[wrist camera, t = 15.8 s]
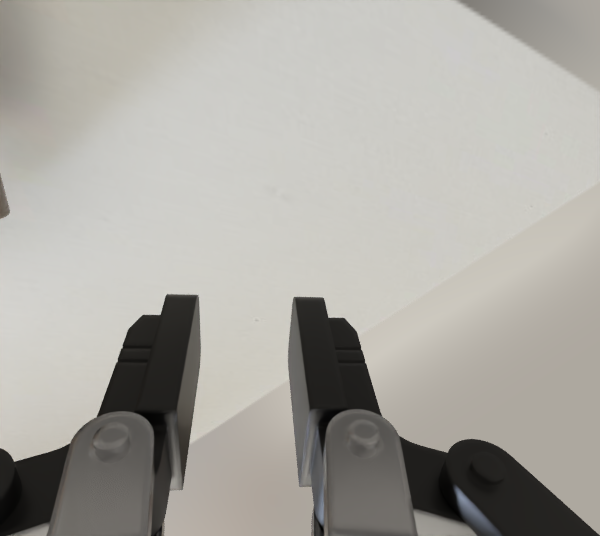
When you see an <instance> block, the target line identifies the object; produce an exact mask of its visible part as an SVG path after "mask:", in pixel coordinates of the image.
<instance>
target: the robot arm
mask: <svg viewBox="0 0 600 536" xmlns="http://www.w3.org/2000/svg"><path fill="white" fill-rule="evenodd" d="M200 353H201V342H200V314H199V297H198V295H173V294H167V295H166V298H165V301H164V305H163V308H162V312H161V315H142V316H141V317H140V318H139V319H138V320H137V321H136V322H135V323H134V324H133V325H132V326H131V327H130V328H129V329H128V332H127V335H126V338H125V341H124V343H123V349H121V352H120V354H119V357H118V363H116V366H115V368H114V371H113V374H112V377H111V379H110V382H109V385H108V388H107V391H106V393H105V396H104V399H103V402H102V405H101V407H100V410H99V413H98V415H97V417H96V418H94V419H93V420H91V421H89V422H88V423H87V424H85V425H84V426H83V427H82V428H81V429H80V430H79V431H78V432H77V433H76V434H75V436H74V437H73V439H72V441H71V443H70V444H68V445H66V446H64V447H62V448H60V449H57V450H54V451H51V452H48V453H44V454H41V455H37V456H34V457H30V458H26V459H23V460H19V461H16V462H14V461H13V459H12V457H11V456H10V454H9V453H8V452H6V451H5V450H3V449H1V448H0V536H164V518H165V514H166V508H167V502H168V496H169V491H170V490H183V483H184V476H185V469H186V462H187V455H188V448H189V440H190V433H191V426H192V419H193V412H194V404H195V397H196V390H197V383H198V376H199V368H200ZM288 367H289V379H290V390H291V400H292V411H293V423H294V434H295V444H296V455H297V466H298V476H299V486H300V487H312V492H313V501H314V508H313V514H312V532H311V535H312V536H600V535H599V534H597V533H596V532H595V531H594V530H593V529H592V528H591V527H590V526H588V525H587V524H586V523H585V522H584V521H583V520H582V519H581V518H580V517H578V516H577V515H576V514H575V513H574V512H573V511H572V510H570V508H568V507H567V506H566V505H565V504H564V503H563V502H562V501H561V500H560V499H558V498H557V497H556V496H555V495H554V494H553V493H552V492H550V490H548V489H547V488H546V487H545V486H544V485H543V484H542V483H541V482H540V481H538V480H537V479H536V478H535V477H534V476H533V475H532V474H531V473H529V472H528V471H527V470H526V469H525V468H524V467H523V466H522V465H521V464H519V463H518V462H517V461H516V460H515V459H514V458H513V457H512V456H510V455H509V454H508V453H507V452H506V451H504V450H503V449H501V448H499V447H498V446H496V445H494V444H491V443H488V442H486V441H481V440H475V439H467V440H462V441H459V442H457V443H455V444H454V445H453V446H452V447H451V448H450V449H449V452H448V453H446V452H442V451H438V450H435V449H431V448H427V447H424V446H420V445H417V444H414V443H412V442H409V441H407V440H405V439H404V438H402V437H400V436H399V435H398V433H397V431H396V430H395V428H394V427H393V426H392V425H391V423H390V422H389V421H387V420H386V419H385V418H383V417H382V415H381V413H380V409H379V406H378V403H377V399H376V396H375V392H374V389H373V386H372V382H371V379H370V376H369V372H368V369H367V365H366V363H365V359H364V355H363V352H362V350H361V345H360V342H359V338H358V335H357V332H356V331H355V329H354V328H353V327H352V326H351V325H350V324H349V323H348V322H347V321H346V319H345V318H328V314H327V310H326V305H325V301H324V298H321V297H294V298H293V304H292V315H291V326H290V337H289V349H288Z"/></svg>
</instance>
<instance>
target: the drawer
mask: <svg viewBox="0 0 600 536" xmlns="http://www.w3.org/2000/svg"><path fill="white" fill-rule="evenodd" d="M9 213H10V209H9V205H8V201H7V198H6V194H5V190H4V186H3V182H2V178H1V175H0V219H1V218H4V217H6V216H7V215H9Z"/></svg>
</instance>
